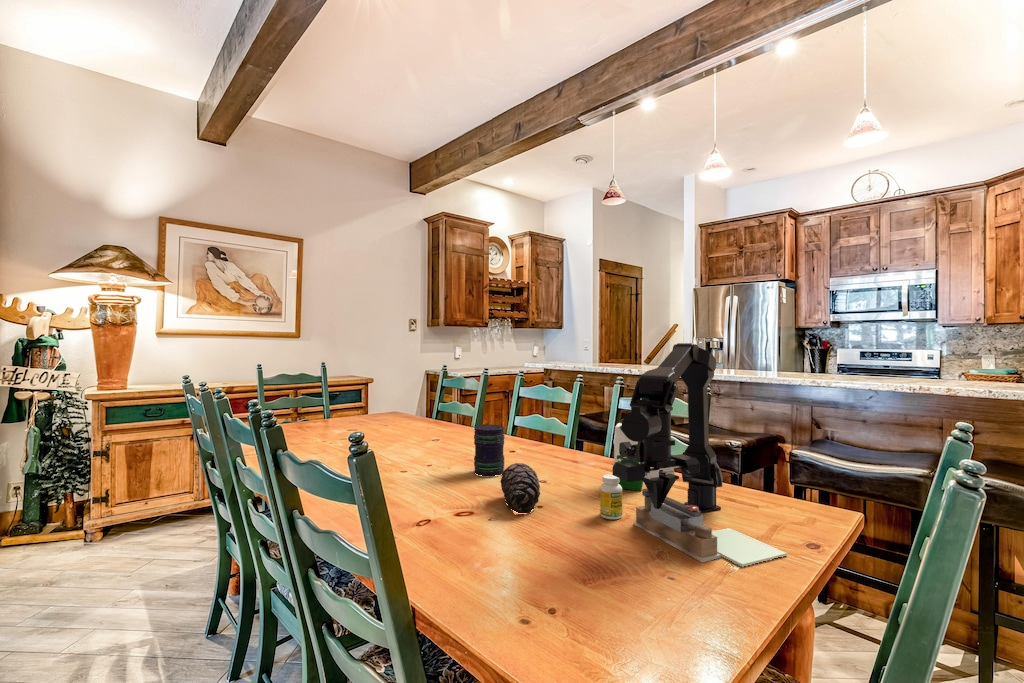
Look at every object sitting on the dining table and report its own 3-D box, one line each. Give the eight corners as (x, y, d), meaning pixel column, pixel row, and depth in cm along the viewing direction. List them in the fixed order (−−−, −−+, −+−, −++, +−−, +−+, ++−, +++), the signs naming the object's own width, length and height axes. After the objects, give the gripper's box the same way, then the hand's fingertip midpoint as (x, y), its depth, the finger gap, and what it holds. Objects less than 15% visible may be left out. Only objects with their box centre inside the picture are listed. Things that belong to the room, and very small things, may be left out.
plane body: (633, 524, 110) (633, 494, 110) (650, 521, 112) (649, 492, 112) (701, 562, 90) (701, 526, 90) (720, 558, 92) (720, 523, 92)
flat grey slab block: (672, 513, 105) (672, 502, 105) (703, 527, 97) (703, 515, 97) (651, 517, 103) (651, 505, 103) (680, 532, 95) (680, 519, 95)
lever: (639, 493, 109) (639, 487, 109) (649, 492, 110) (649, 486, 110) (692, 517, 94) (692, 510, 94) (703, 515, 95) (703, 508, 95)
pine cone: (510, 519, 113) (510, 477, 113) (496, 496, 131) (496, 459, 131) (552, 515, 115) (551, 474, 116) (533, 493, 133) (533, 457, 133)
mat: (729, 530, 106) (729, 527, 106) (787, 556, 93) (787, 553, 93) (687, 539, 101) (687, 536, 101) (742, 567, 88) (742, 564, 88)
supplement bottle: (611, 510, 119) (611, 472, 119) (627, 517, 114) (627, 477, 114) (595, 514, 116) (595, 475, 116) (611, 521, 111) (611, 480, 111)
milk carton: (612, 489, 136) (612, 419, 136) (616, 481, 145) (616, 415, 145) (644, 492, 133) (644, 421, 134) (646, 483, 142) (646, 416, 142)
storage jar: (470, 476, 150) (470, 429, 150) (477, 468, 160) (477, 424, 160) (501, 478, 148) (501, 430, 148) (506, 469, 158) (506, 425, 158)
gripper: (665, 424, 111) (665, 491, 110) (597, 430, 103) (597, 502, 103) (701, 433, 100) (702, 506, 100) (629, 440, 93) (629, 519, 93)
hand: (657, 508), depth 99 cm, fingers closed
